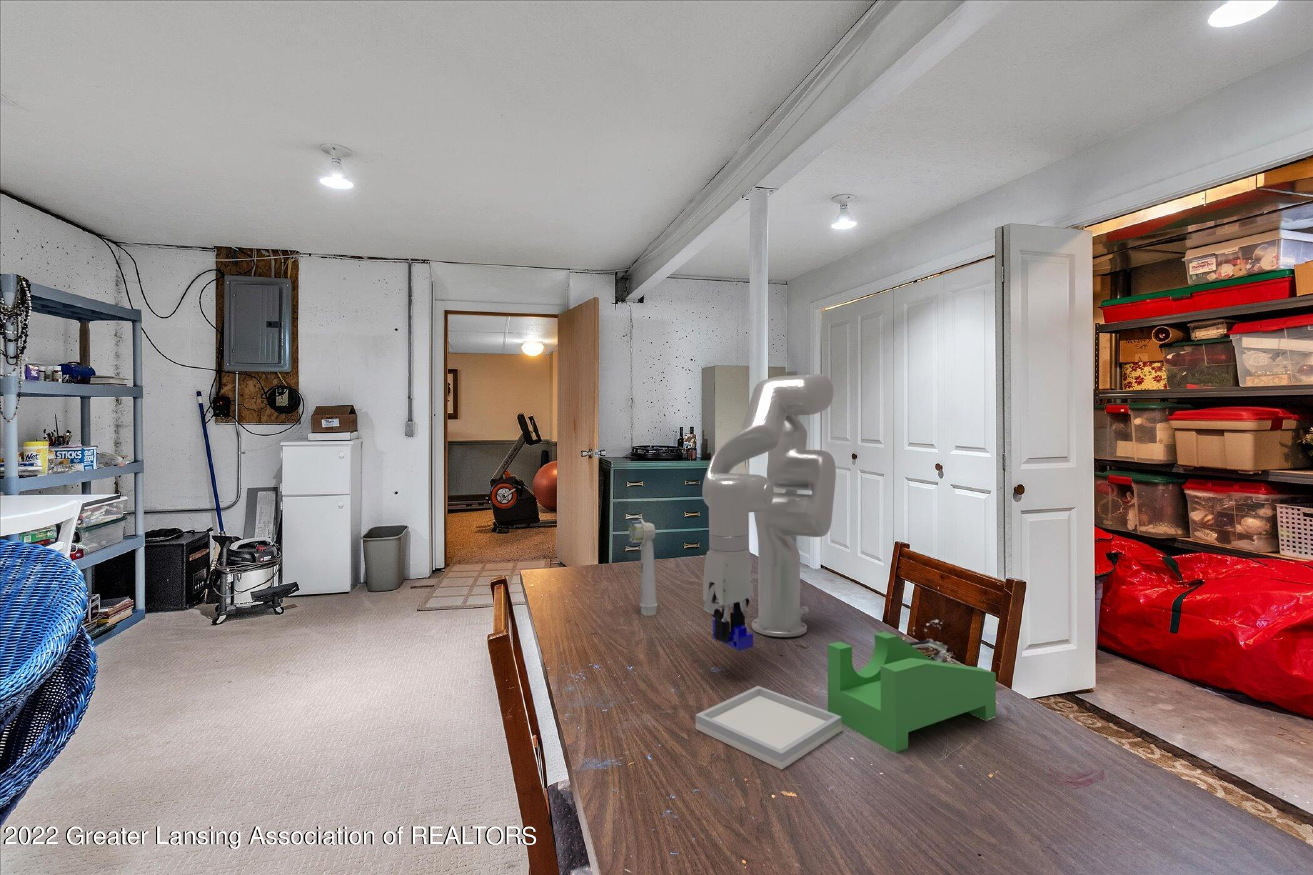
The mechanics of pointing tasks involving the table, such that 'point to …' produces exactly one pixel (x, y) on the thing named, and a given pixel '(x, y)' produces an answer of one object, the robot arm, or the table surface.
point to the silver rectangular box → (936, 646)
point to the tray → (769, 725)
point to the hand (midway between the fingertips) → (730, 636)
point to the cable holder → (738, 637)
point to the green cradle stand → (903, 691)
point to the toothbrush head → (645, 564)
